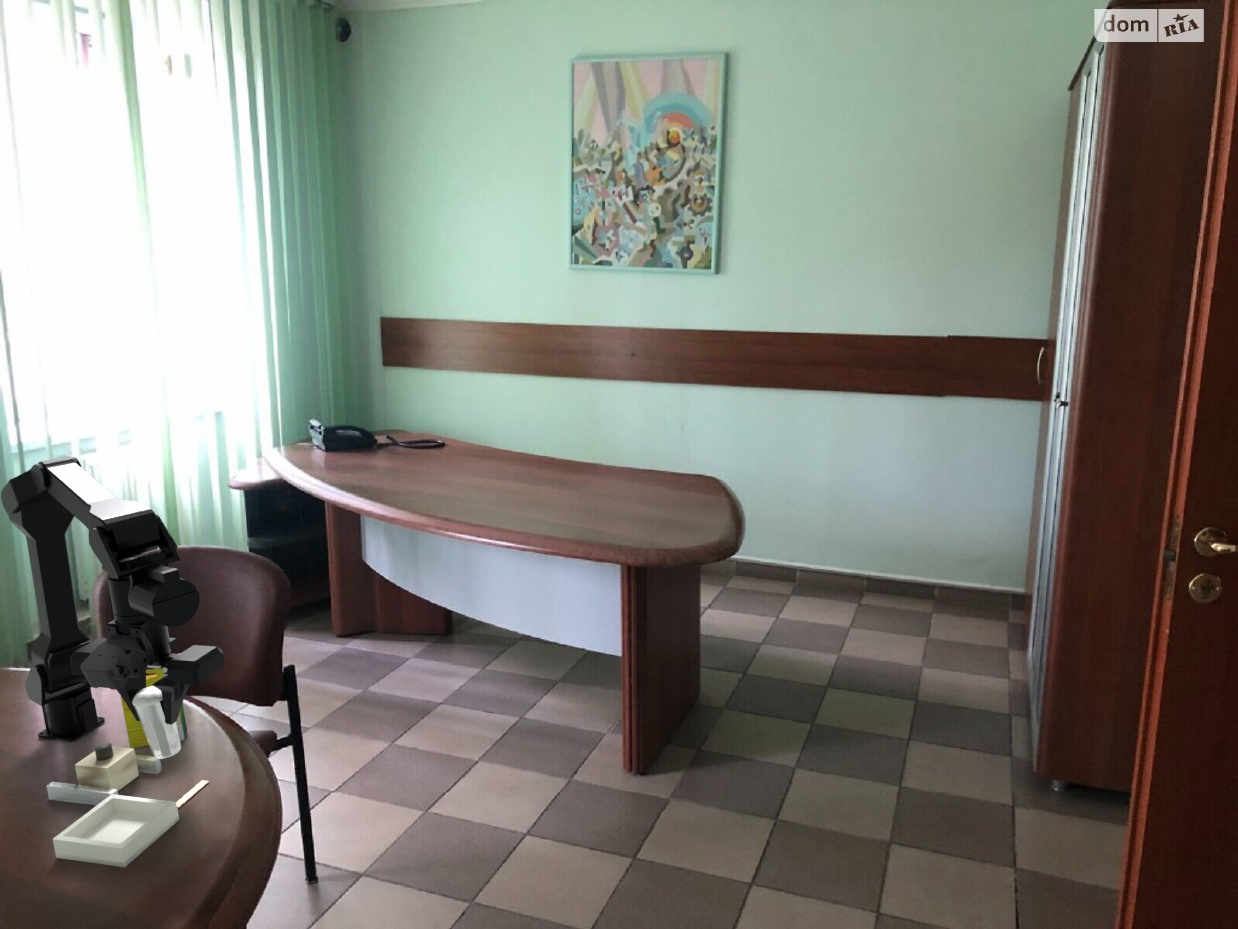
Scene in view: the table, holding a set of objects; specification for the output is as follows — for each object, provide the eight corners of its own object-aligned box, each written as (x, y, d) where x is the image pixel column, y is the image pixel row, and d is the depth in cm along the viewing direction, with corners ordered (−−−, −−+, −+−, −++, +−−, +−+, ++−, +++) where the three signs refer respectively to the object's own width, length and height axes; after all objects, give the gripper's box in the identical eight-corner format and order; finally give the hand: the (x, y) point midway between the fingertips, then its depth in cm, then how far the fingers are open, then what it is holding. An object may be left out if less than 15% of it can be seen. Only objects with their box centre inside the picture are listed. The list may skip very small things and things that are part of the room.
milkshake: (177, 761, 123) (156, 689, 121) (141, 762, 124) (120, 691, 122) (199, 742, 127) (179, 673, 125) (163, 744, 129) (144, 675, 126)
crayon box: (188, 731, 143) (177, 658, 140) (184, 741, 140) (173, 667, 138) (133, 739, 141) (121, 665, 139) (129, 749, 139) (116, 674, 136)
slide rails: (49, 799, 127) (46, 786, 126) (100, 763, 135) (97, 750, 135) (171, 815, 122) (168, 800, 122) (215, 776, 131) (214, 763, 130)
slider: (79, 792, 128) (72, 754, 126) (107, 772, 132) (101, 735, 131) (111, 796, 126) (105, 758, 125) (138, 775, 131) (132, 738, 130)
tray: (56, 857, 114) (52, 839, 114) (114, 811, 123) (111, 794, 123) (124, 867, 112) (121, 848, 111) (179, 819, 121) (176, 802, 120)
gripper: (24, 628, 116) (47, 747, 119) (159, 639, 111) (178, 761, 115) (94, 595, 126) (112, 704, 130) (219, 603, 122) (235, 716, 126)
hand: (156, 721), depth 125 cm, fingers closed on milkshake, 4 cm apart
